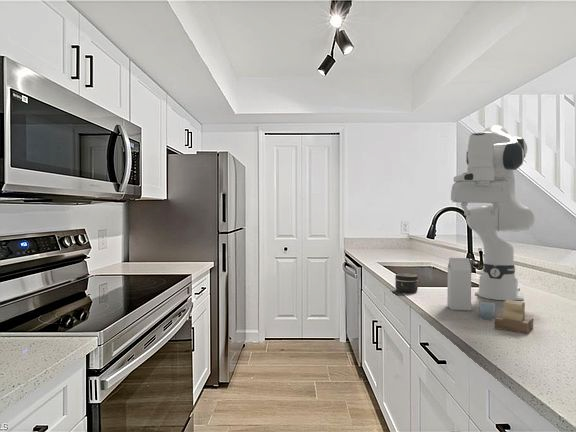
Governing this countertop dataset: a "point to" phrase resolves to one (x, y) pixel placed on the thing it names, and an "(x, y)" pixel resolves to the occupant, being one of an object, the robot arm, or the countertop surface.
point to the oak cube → (514, 310)
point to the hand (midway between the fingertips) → (480, 215)
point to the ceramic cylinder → (487, 310)
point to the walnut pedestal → (514, 324)
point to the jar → (406, 283)
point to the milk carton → (459, 284)
